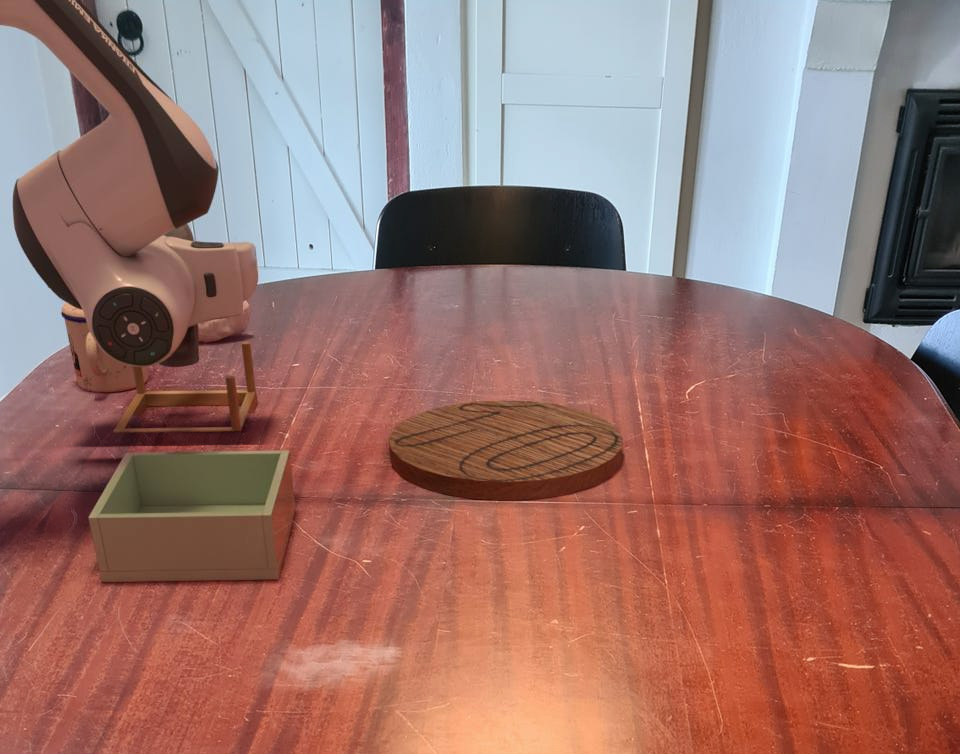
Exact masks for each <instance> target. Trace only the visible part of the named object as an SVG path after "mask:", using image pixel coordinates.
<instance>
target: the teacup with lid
mask: <svg viewBox="0 0 960 754" xmlns="http://www.w3.org/2000/svg"><path fill="white" fill-rule="evenodd" d="M60 313H61V317H62V318H63V319H64V323H65V329H66V334H67V338H68V344H69V348H70V353H71V358H72V364H73V368H74V373H75V378H76V382H77V385H78V386H79V387H81V389H83V390H86V391H88V392H96V393H116V392H117V393H118V392H123V391H129V390H133V389H136V383H135V377H134V372H133V366H128V365H125V364H122V363H120V362H118V361H116V360H114V359H112V358H111V357H109V356H108V355H107V354H106V353H105V352H103V350H102V349H101V348H100V347H99V346H98V344H97V343H96V341H95V340H94V338H93V336H92V335H91V333H90V330H89V327H88V324H87V321H86V318H85V315H84V312H83V310H81V309H78V308H76V307H74V306H72V305H70V304H68V303H67V302H65V303H64V304H63V305H62V307H61V312H60ZM142 373H143V378H144V384H145V383H146V382H147V381H148V380H149V373H148V367H142Z"/></svg>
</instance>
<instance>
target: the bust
mask: <svg viewBox="0 0 960 754" xmlns="http://www.w3.org/2000/svg"><path fill="white" fill-rule="evenodd" d="M250 316H251V310H250V304H249V303H248V301H247V300H245V301H243V312H242V313H241V314H240V315H238V316H232V317H228V318H222V319H216V320H211V321H205V322H201V323H198V335H199V342H201V343H202V342H203V343H210V342H217V341H220V340H222V339H225V338H228V337H231V336H235V335H240V334H243V333H245V332H246V331H247V329H248V326H249V323H250Z"/></svg>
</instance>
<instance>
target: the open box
mask: <svg viewBox="0 0 960 754" xmlns="http://www.w3.org/2000/svg"><path fill="white" fill-rule="evenodd" d="M292 469H293V468H292V461H291V451H290V450H289V449H287V450H279V449H278V450H224V451H223V450H208V451H143V452H142V451H141V452H140V451H137V452H136V451H135V452H125V453H124V455H123V457H122V459H121V461H120V462H119V464H118V466H117V467H116V469H115V471H114V472H113V475H111V477H110V480H109V481H108V483H107V484H106V487H105V488H104V490H103V492H102V493H101V495H100V497H99V498H98V500H97V502H96V504H95V505H94V506H93V509H92V510H91V512H90V514H89V516H88V523H89V528H90V532H91V538H92V541H93V547H94V552H95V556H96V561H97V566H98V571H99V575H100V581H101V583H133V582H134V583H137V582H139V583H140V582H196V581H197V582H199V581H200V582H203V581H207V582H208V581H254V580H255V581H261V580H262V581H267V580H270V581H271V580H273V581H274V580H279V578H280V574H281V570H282V566H283V563H284V559H285V554H286V551H287V547H288V542H289V539H290V535H291V530H292V526H293V523H294V520H295V519H294V518H295V514H296V512H297V511H296V510H297V509H296V502H295V501H296V498H295V490H294V489H295V488H294V480H293V471H292Z"/></svg>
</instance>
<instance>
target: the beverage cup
mask: <svg viewBox="0 0 960 754" xmlns="http://www.w3.org/2000/svg"><path fill="white" fill-rule="evenodd" d="M164 235H165V236H167V237H176V238H180V239H184V240H188V241H195V239H194V235H193V232H192V230H191V227H190V226H189V223H187V224H185V225H183V226H181V227H180V228H178V229H176V228H174V229H172V230H171V231H169V232H168V233H166V234H164ZM199 350H200V341H199V335H198V324H195V325H193V326H190V327H188V329H187V332H186V334H185V337H184V338H183V340H182V342H181V344H180V345H179V347H178V348H177V349H176V351H175V352H174V353H173V354H172V355H171V356H170V357H169V358H167V359H166V360H164V361H163V362H161V363H158V364H159V366H162V367H168V368H183V367H189V366H192V365H195V364H197V363H199V362H200V355H199V354H200V351H199Z"/></svg>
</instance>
